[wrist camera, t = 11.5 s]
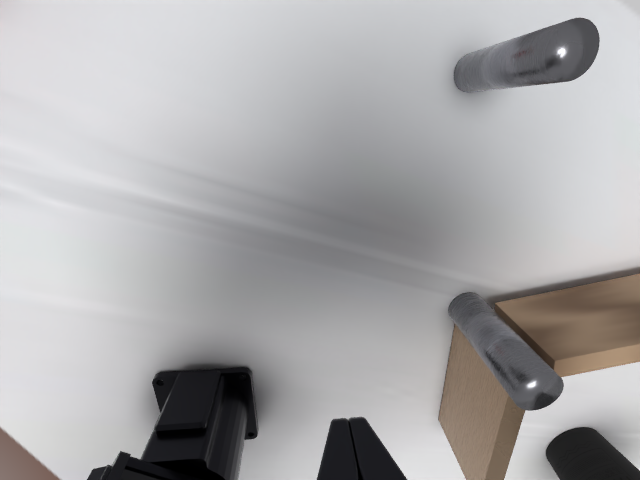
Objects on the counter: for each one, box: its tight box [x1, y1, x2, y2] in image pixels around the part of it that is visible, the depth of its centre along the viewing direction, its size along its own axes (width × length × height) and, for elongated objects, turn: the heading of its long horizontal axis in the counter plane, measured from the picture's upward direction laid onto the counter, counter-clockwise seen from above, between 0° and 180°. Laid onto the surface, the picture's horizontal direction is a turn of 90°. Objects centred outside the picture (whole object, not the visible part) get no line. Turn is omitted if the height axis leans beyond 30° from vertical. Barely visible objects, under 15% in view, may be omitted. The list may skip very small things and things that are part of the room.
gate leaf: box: [495, 274, 640, 377], centre depth 19 cm, size 12×1×5 cm, turn 101°
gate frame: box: [438, 18, 599, 480], centre depth 18 cm, size 26×4×7 cm, turn 1°
